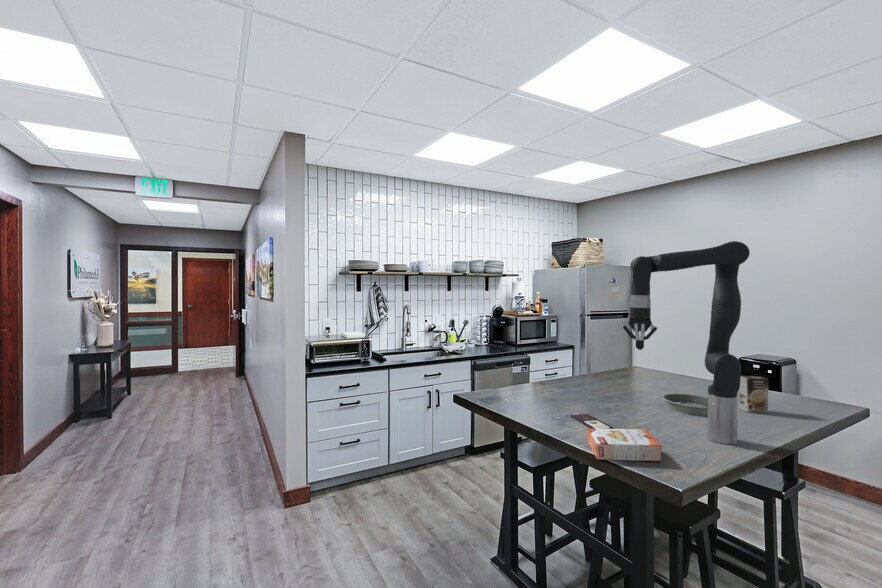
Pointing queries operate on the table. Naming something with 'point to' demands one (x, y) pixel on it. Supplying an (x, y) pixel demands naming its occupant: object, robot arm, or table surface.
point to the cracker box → (624, 444)
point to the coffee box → (754, 394)
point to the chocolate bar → (591, 421)
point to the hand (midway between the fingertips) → (639, 349)
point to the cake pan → (696, 410)
